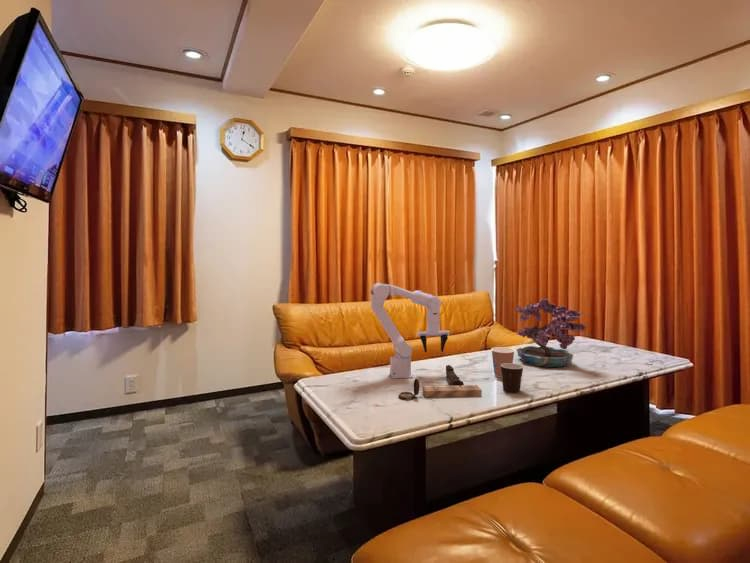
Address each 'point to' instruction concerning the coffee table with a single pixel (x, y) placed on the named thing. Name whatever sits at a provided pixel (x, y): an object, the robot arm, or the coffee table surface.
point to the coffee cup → (501, 358)
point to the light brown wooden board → (452, 391)
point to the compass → (408, 394)
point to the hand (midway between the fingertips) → (433, 351)
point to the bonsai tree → (548, 334)
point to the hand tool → (452, 376)
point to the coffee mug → (511, 377)
